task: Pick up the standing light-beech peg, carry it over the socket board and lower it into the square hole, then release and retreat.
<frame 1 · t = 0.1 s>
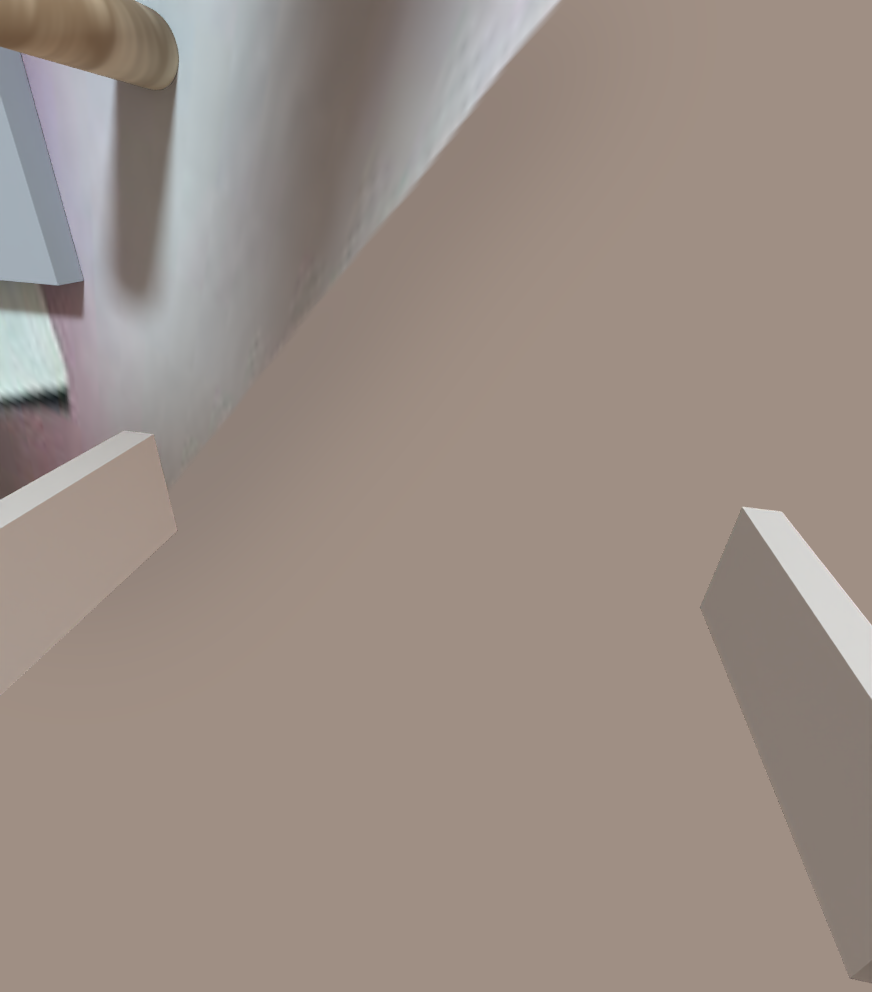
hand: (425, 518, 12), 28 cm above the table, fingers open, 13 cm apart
peg: (147, 49, 32), on the table
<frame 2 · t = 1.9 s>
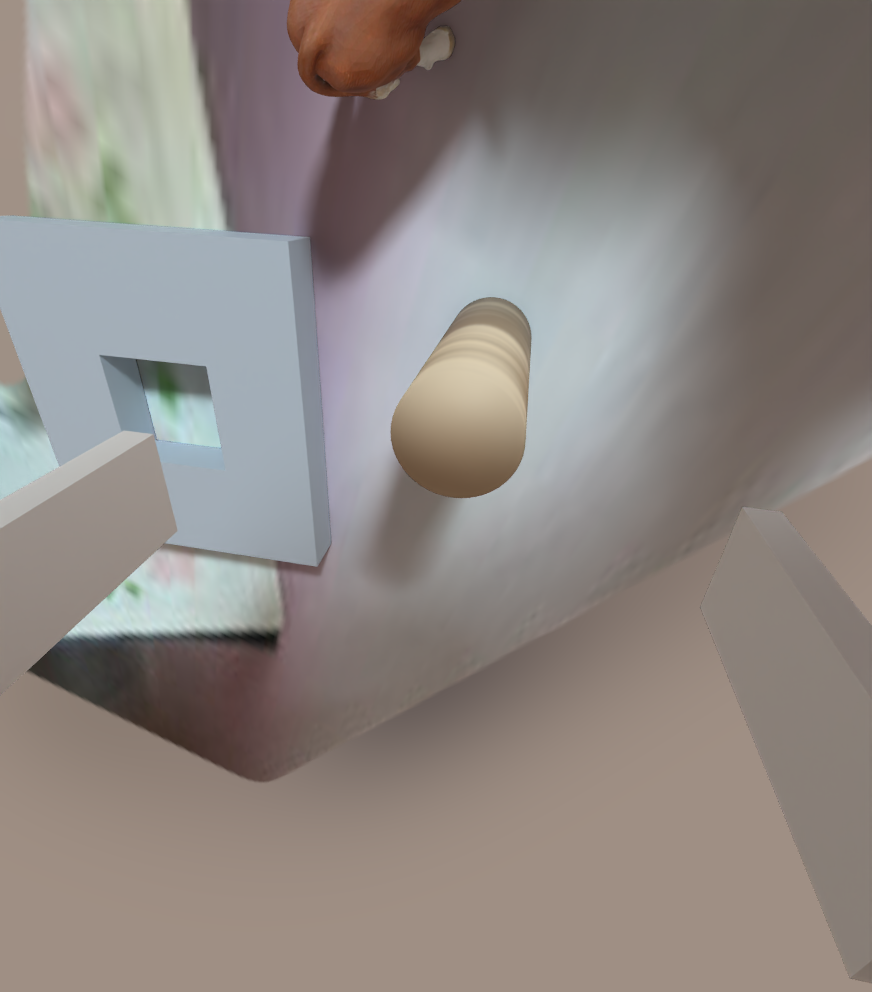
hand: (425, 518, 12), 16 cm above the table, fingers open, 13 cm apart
peg: (490, 340, 25), on the table
socket board: (191, 399, 30), on the table
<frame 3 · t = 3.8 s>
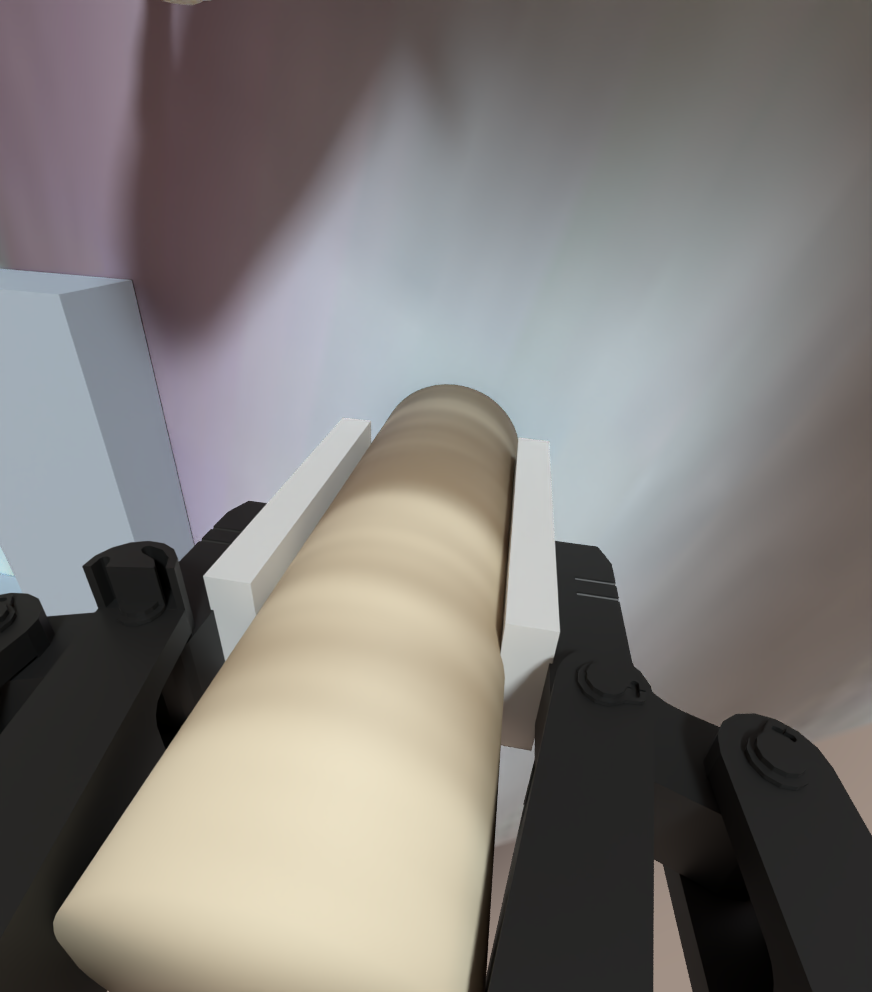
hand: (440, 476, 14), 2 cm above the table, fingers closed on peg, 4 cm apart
peg: (449, 451, 15), on the table, touching gripper
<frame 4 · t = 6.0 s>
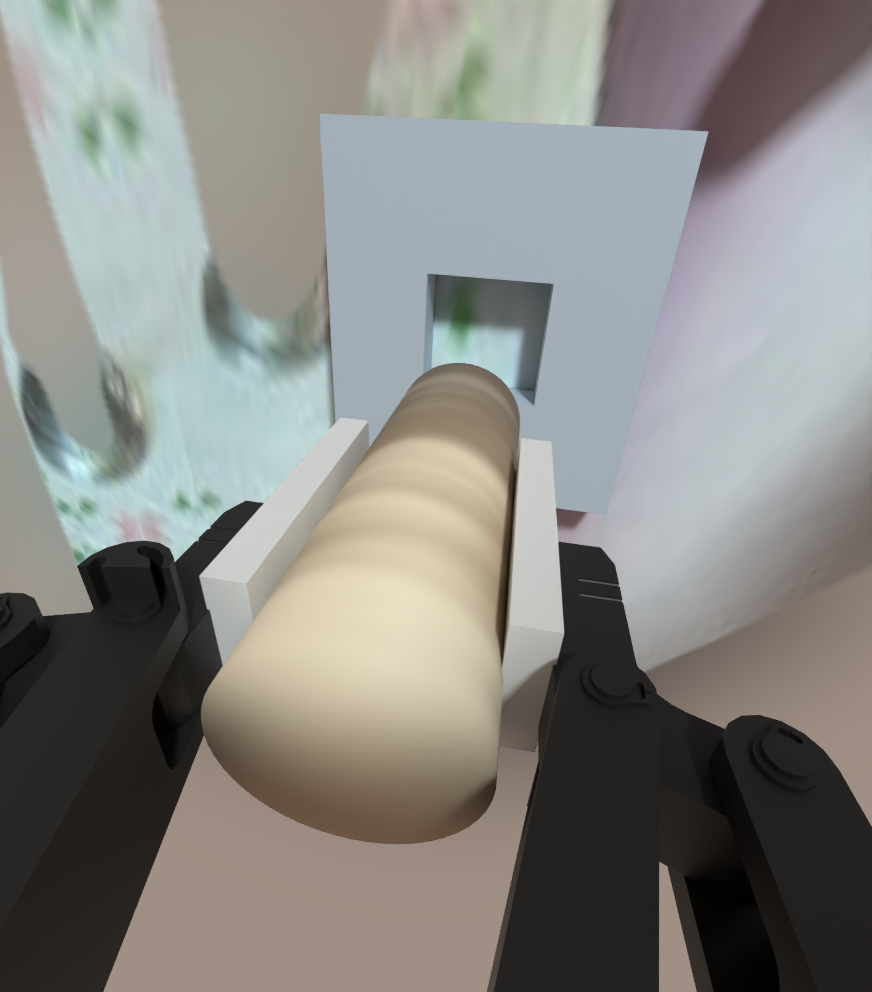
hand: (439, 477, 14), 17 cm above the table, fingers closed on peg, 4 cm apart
peg: (459, 422, 17), point 13 cm above the table, touching gripper
socket board: (487, 331, 28), on the table
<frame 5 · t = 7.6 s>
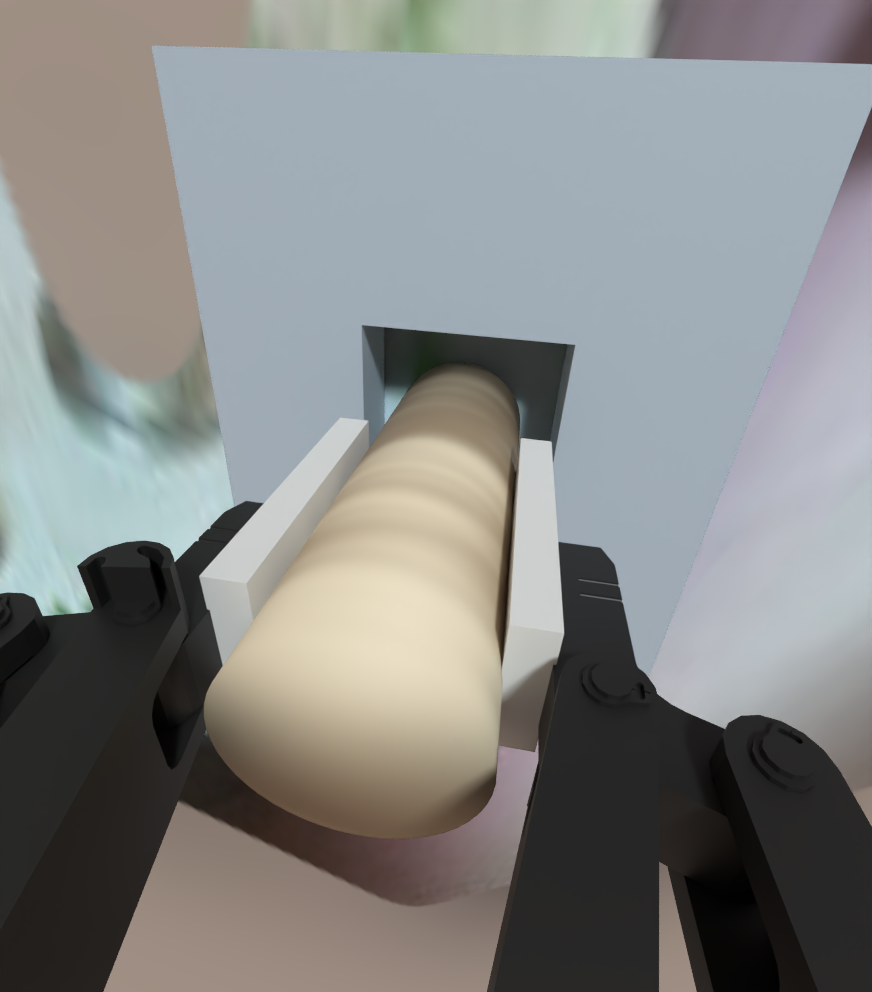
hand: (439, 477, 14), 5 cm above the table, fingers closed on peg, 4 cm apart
peg: (459, 422, 17), point 1 cm above the table, touching gripper
socket board: (467, 405, 18), on the table
when the fingers open (4 cm above the table, at t = 8.1 s): peg stays where it is, resting in socket board.
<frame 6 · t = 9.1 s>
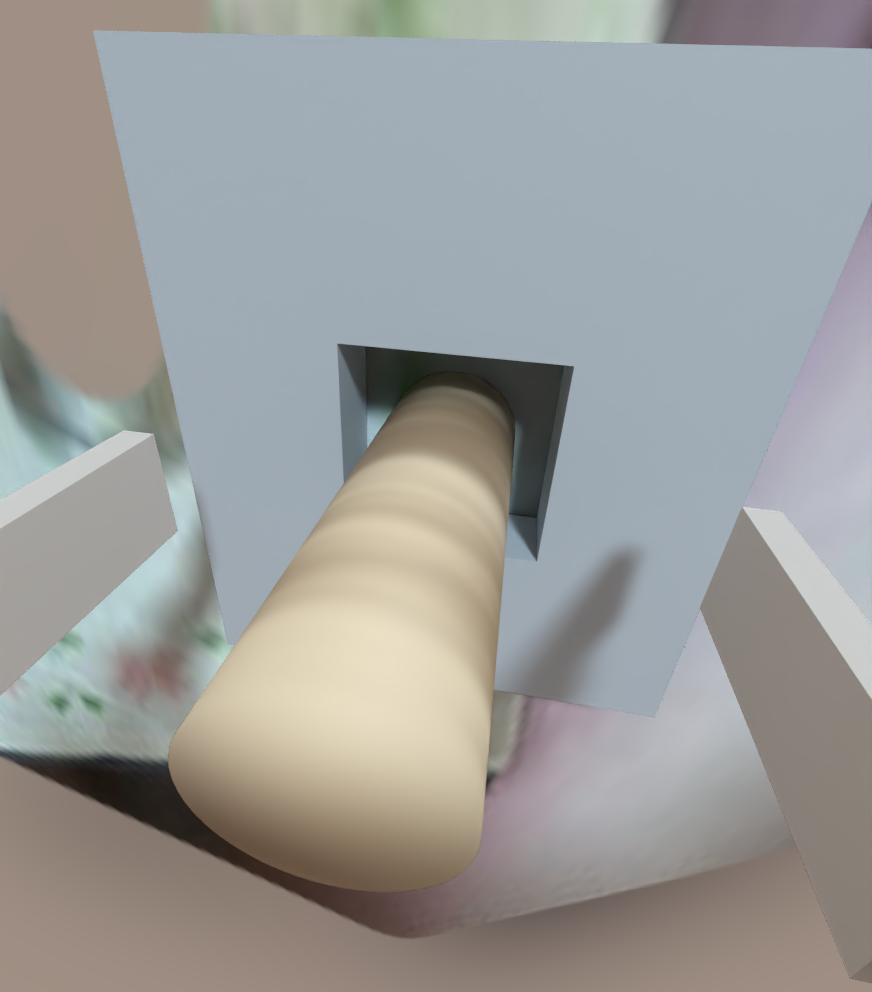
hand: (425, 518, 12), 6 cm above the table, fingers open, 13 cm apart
peg: (453, 432, 17), resting in socket board
socket board: (456, 427, 16), on the table
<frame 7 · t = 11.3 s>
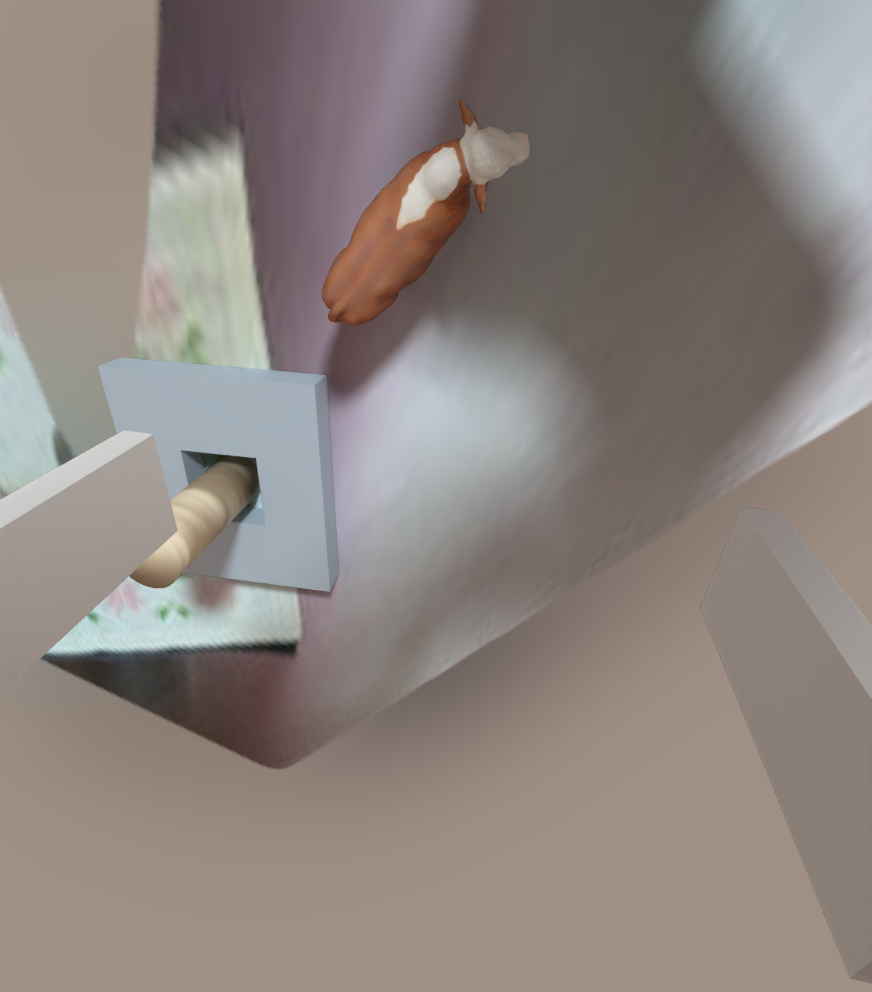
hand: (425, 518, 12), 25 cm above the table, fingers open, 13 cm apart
bull figurine: (427, 223, 31), on the table
peg: (238, 476, 42), resting in socket board
socket board: (239, 474, 42), on the table
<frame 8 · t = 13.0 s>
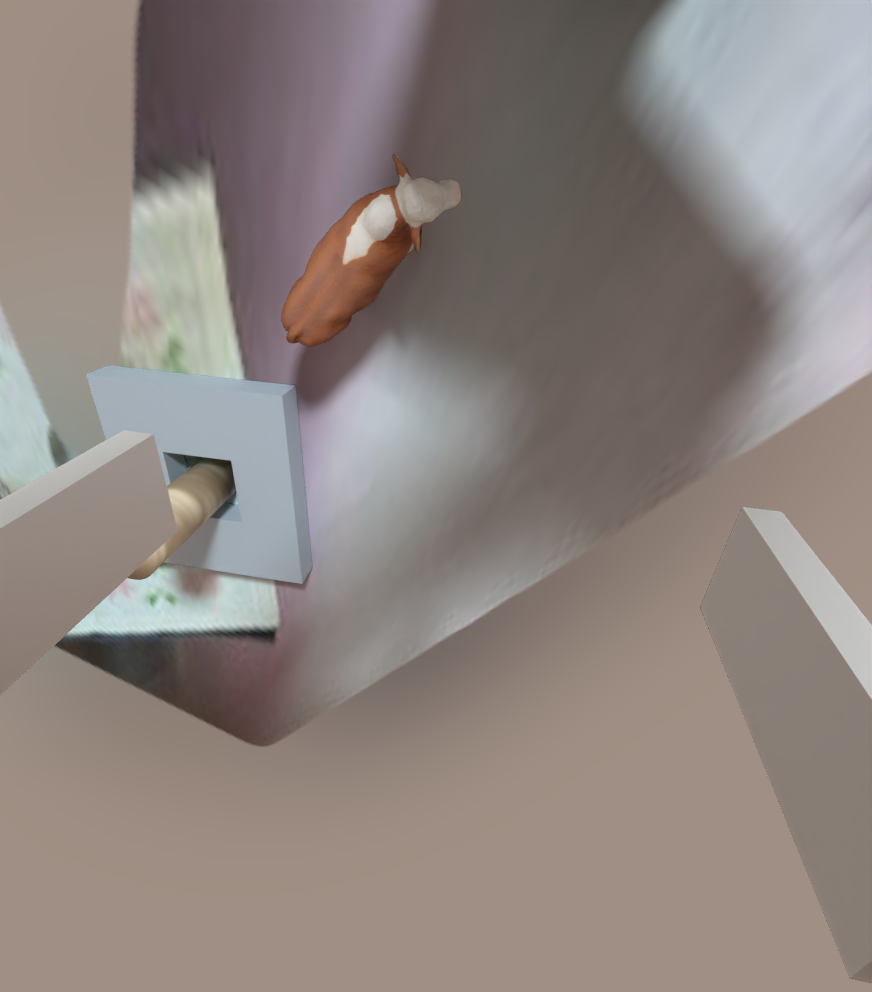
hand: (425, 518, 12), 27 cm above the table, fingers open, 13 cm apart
bull figurine: (383, 250, 34), on the table
peg: (218, 476, 45), resting in socket board
socket board: (218, 474, 45), on the table
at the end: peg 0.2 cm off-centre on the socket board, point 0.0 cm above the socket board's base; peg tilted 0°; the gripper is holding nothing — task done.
